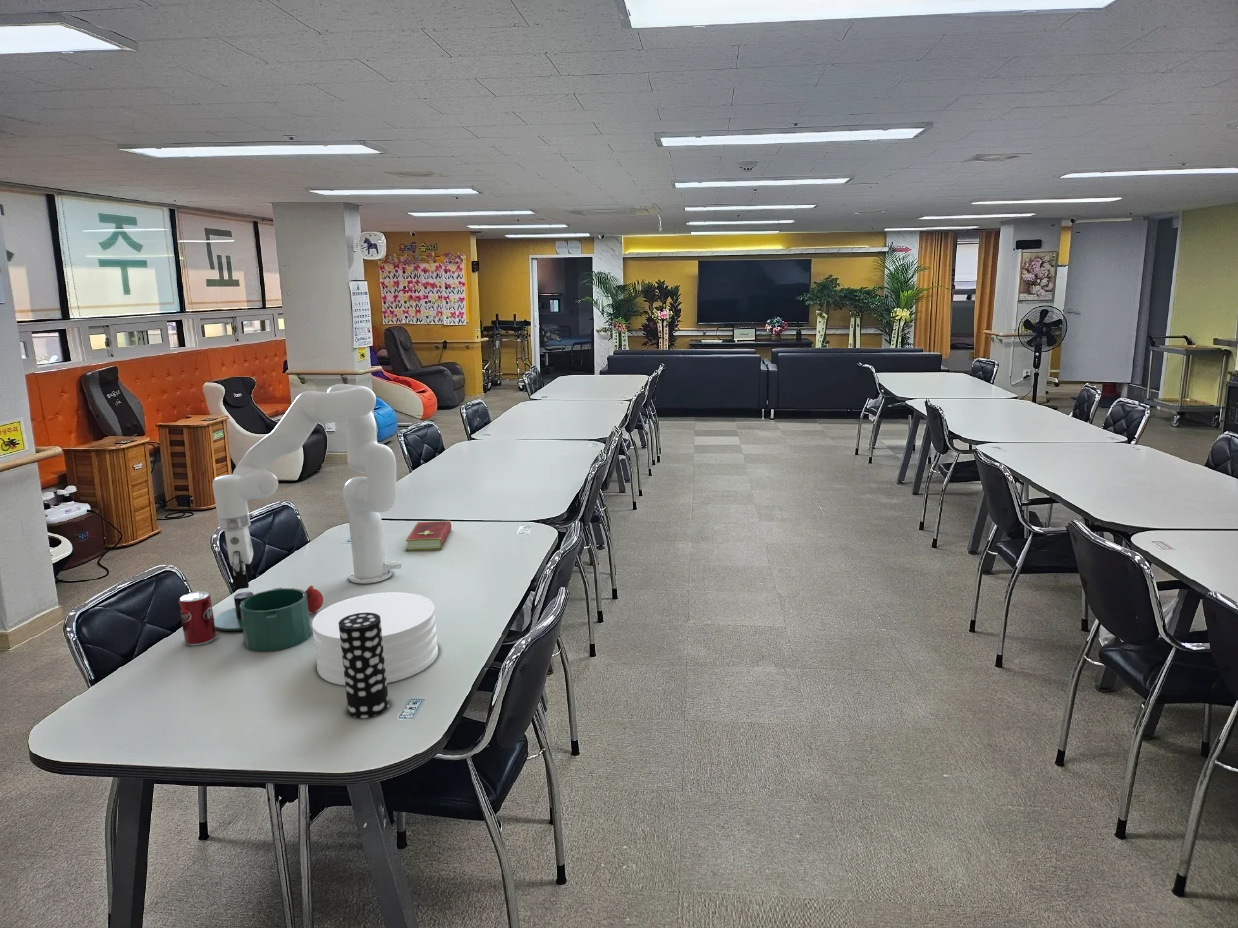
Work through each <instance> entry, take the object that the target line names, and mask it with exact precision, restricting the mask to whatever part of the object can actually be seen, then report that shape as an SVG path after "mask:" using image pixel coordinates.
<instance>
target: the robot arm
mask: <svg viewBox="0 0 1238 928" xmlns="http://www.w3.org/2000/svg"><path fill="white" fill-rule="evenodd" d="M376 404H377V397H376V394H375V392H374V391H373V390H372V389H371V388H370V387H367V386H365V385H355V384H348V383H336V384H333V385H331V386H330V387H329V388H328V389H327V391H317V390H306V391H303V392H301V393H299V395H297V396H296V398H295V399H294V401H293V402H292V403H291V405H290V407H288V409H287V410H286V411H285V414H284V415H283V417H282V418H281V419H280V421H278V423H277V424H276V426H275V427H274V429H273V430H272V431H271V432H270V433H268V434H267V435H266V436H264V437H263V438H262V439H261V440H259V441H258V442H257V443H255V444H254V445H253V446H252V447H251V448H250V449H248V451H247V452H246V453H245V454H244V455H243V457H242V458H241V460H240V461H239V462H238V464H237V465H236V466H235V468H234V470H233V472H232V474H225V475H220V476H218V477H215V478H214V479H213V481H212V484H211V485H212V491H213V496H214V502H215V509H216V514H217V521H218V526H219V530H220V531H222V532H224V535H225V536H224V537H225V542H226V543H225V544H226V549H227V555H228V560H229V564H230V567H232V571H233V572H232V573H233V581H234V587H235V588H234V589H235V590H244V589H248V588H249V587H250V583H249V578H248V577H249V576H253V573H254V572H253V567H252V561H253V557H254V549H253V543H252V539H251V535H250V533H251V532H250V529H249V527H250V526H251V525H252V523H251V517H250V511H249V504H248V501H250V500H258V499H266V498H268V497H270V496H272V495H274V494H275V493H276V492H277V490H278V488H279V479H278V477H277V476H276V475H275V474H274V473H273V472H272V471H268V470H267V469H268V468H269V467H270V466H271V465H272V464H273V463H274V462H275V461H277V460H278V459H280V458H282V457H284V456H287V455H290V454H292V453H294V452H297V451H298V450H300V449H301V448H302V447H303V446H304V445H305V443H306V442H307V440H308V439H309V437H310V436H311V434H312V432H313V431H314V429H315V428H316V427H317V425H318V424H319V423H323V424H329V423H330V424H331V423H339V422H344V423H345V428H346V429H345V430H346V460H347V465H348V467H349V468H350V469H351V470H352V471H354V472H357V473H359V474H364V475H366V476H354V477H352V478H350V479H349V480H348V481H346V483H345V484H344V485H343V490H342V498H343V503H344V505H345V509H346V513H347V518H348V525H349V536H350V545H351V546H350V547H351V555H352V564H353V566H352V567H353V571H352V572H351V573H349V576H348V577H349V581H350V582H352V583H355V584H375V583H378V582H379V583H380V582H382V581H385V580H388V579H389V578H390V577H392V575H393V572H392V571H393V570H401V569H402V562H397V560H395V561H390V562H389V561H388V560H387V557H386V552H385V542H384V539H385V538H384V529H383V520H382V515H381V514H383V513H387V512H388V511H389V510H391V509H392V508H393V506H394V505H395V502H396V498H397V460H396V456H395V453H394V452H393V450H392V449H391V448H390V447H389V446H387V445H386V444H383V443H378V437H377V433H378V432H377V424H376V419H375V416H374V414H373V410H374V409H375V407H376Z"/></svg>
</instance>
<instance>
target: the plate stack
mask: <svg viewBox="0 0 1238 928" xmlns="http://www.w3.org/2000/svg"><path fill="white" fill-rule="evenodd" d="M435 607H436V606H435V604H434V602H432V600H431V599H429V598H428V597H425V596H423V595H420V594H416V593H410V592H401V591H400V592H398V591H390V592H389V591H386V592H375V593H367V594H361V595H358V596H354V597H350V598H347V599H344V600H340V601H338V602H335V603H332V604H331V605H329V606H327V607H325V608H324V609H322V610H320V611H319V612H317V614H315V616H314V617H313V619H312V622H311V627H312V636H313V642H314V643H313V644H314V651H315V661H316V668H317V673H318V675H319V676H320V677H321V678H322V679H324V680H325V681H326V682H329V683H331V684H335V685H339V686H345V677H344V668H343V659H342V650H341V641H340V632H339V621H340V620H341V619H343V618H344V617H347V616H349V615H352V614H357V613H375V614H378V615H379V616H380V619H381V629H382V639H383V650H384V660H385V670H386V680H387V684H390V683H394V682H397V681H401V680H405V679H407V678H410V677H412V676H414V675H417V674H419V673H421V672H422V671H424V670H425V669H427V668H428V667H430V666H431V665H432V664H433V663H434V662H435V660H436V659H437V657H438V656H439V655H438V654H439V646H438V635H437V625H436V622H437V619H436V609H435Z"/></svg>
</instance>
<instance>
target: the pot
mask: <svg viewBox="0 0 1238 928" xmlns="http://www.w3.org/2000/svg"><path fill="white" fill-rule="evenodd" d="M240 612H241V619H242V626H243V630H242V632H243V639H244V644H245V646H246V647H247V648H248V649H249V650H252V651H256V652H275V651H281V650H286V649H288V648H291V647H294V646H297V645H300V644H301V643H303V642H305V641H306V640H308V638H309V637H310V636H311V634H312V629H311V627H312V626H311V619H310V612H309V610H308V601H307V593H305V591H304V590H302V589H299V588H292V587H291V588H288V587H287V588H285V587H278V588H277V587H276V588H272V589H268V590H264V591H260V592H256V593H255V594H254V593H253V595H252V596H249V597H247V598H246V599H245V600H243V601H242V602H241V604H240Z"/></svg>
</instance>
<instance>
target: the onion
mask: <svg viewBox="0 0 1238 928" xmlns="http://www.w3.org/2000/svg"><path fill="white" fill-rule="evenodd" d="M304 592H305V593H307V601H308V610H309V614H315V613H317V611H319V609H321V607H322V606H323V604H324V595H323V594H322V592H321V591H320V590H318V589H316V588H315V586H314V585H309V586H308V588H307V589H306V590H305V591H304Z"/></svg>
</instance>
